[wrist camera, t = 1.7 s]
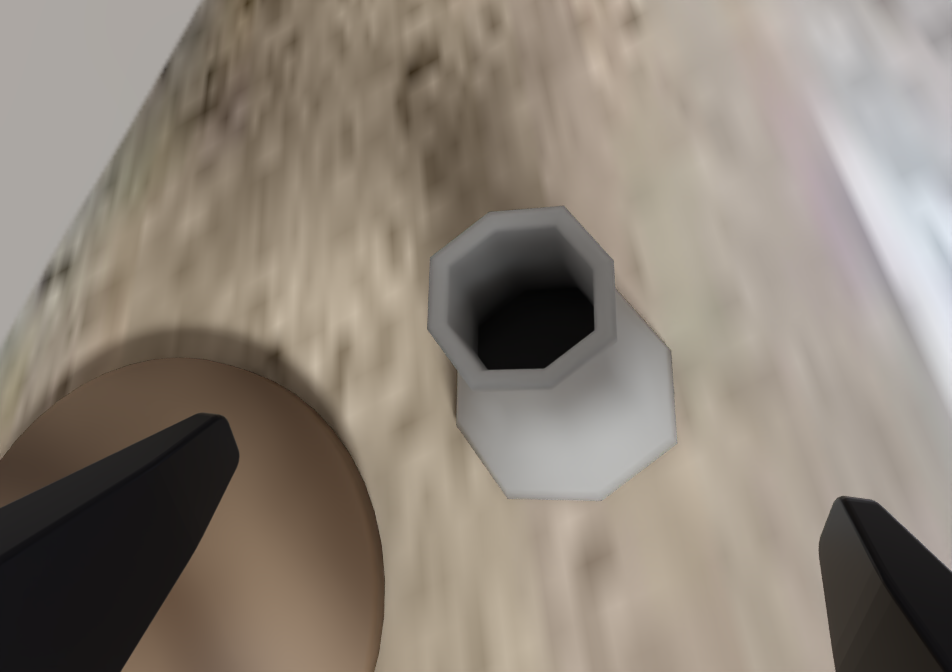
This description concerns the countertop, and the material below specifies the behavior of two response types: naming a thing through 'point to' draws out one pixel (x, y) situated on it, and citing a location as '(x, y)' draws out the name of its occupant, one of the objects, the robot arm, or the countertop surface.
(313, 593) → the walnut board
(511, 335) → the flask
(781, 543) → the countertop surface
